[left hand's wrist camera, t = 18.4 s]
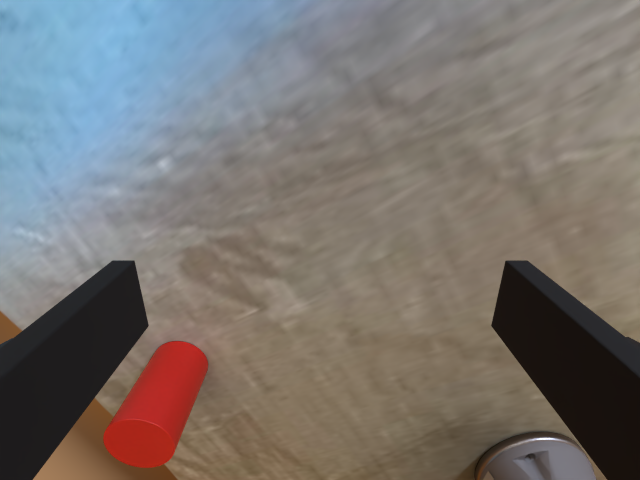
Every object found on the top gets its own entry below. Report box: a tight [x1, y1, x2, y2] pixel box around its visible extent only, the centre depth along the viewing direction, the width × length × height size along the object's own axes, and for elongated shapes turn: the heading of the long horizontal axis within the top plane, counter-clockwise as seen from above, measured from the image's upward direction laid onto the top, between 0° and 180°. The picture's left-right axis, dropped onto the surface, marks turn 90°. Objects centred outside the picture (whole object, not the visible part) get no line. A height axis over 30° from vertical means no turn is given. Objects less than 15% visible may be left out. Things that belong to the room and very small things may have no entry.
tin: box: [104, 341, 208, 468], centre depth 38 cm, size 7×7×11 cm
